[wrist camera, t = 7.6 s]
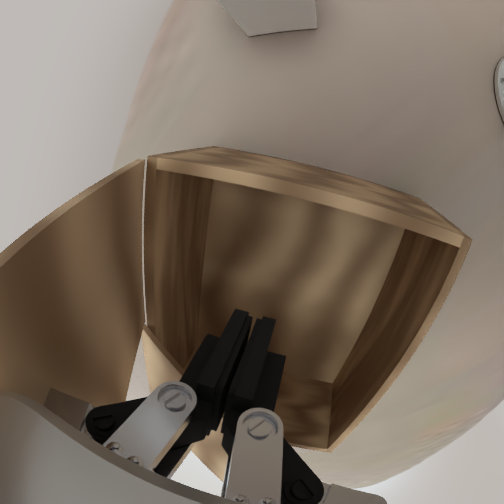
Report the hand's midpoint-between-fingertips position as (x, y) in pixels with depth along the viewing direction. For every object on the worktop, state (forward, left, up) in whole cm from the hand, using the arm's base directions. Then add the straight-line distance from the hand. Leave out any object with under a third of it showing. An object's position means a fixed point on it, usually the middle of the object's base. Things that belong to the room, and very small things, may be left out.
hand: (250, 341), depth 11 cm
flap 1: (+6, +2, +3) cm, 7 cm away
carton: (-1, +9, -19) cm, 21 cm away
